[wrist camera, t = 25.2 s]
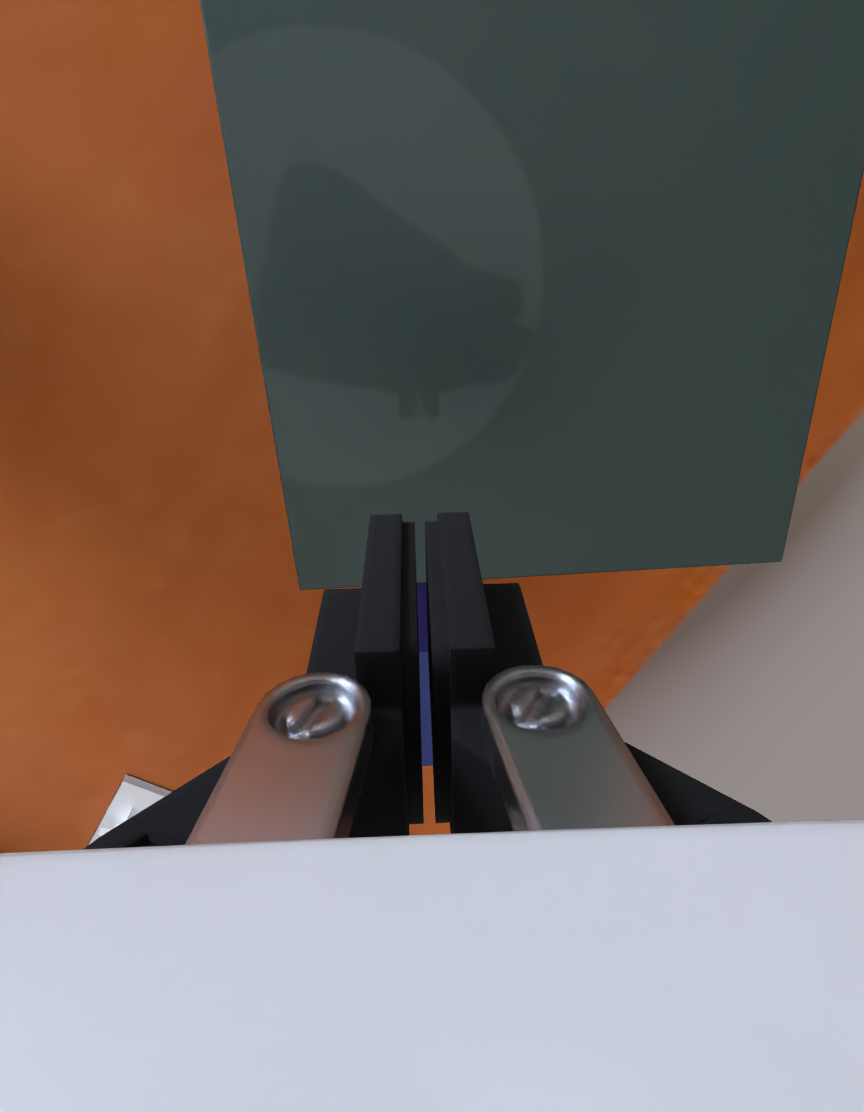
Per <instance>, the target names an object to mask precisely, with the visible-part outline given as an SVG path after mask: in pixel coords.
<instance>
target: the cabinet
mask: <svg viewBox="0 0 864 1112" xmlns="http://www.w3.org/2000/svg"><path fill="white" fill-rule="evenodd" d="M200 6H201V12H202V18H203V23H204V29H205V35H206V41H207V47H208V53H209V59H210V65H211V70H212V76H213V82H214V88H215V94H216V100H217V106H218V112H219V118H220V123H221V129H222V135H223V141H224V147H225V153H226V159H227V165H228V171H229V176H230V182H231V188H232V194H233V200H234V206H235V212H236V218H237V223H238V229H239V235H240V241H241V247H242V253H243V259H244V265H245V271H246V276H247V282H248V288H249V294H250V300H251V306H252V312H253V318H254V324H255V329H256V335H257V341H258V347H259V353H260V359H261V365H262V371H263V377H264V382H265V388H266V394H267V400H268V406H269V412H270V418H271V424H272V429H273V435H274V441H275V447H276V453H277V459H278V465H279V471H280V477H281V482H282V488H283V494H284V500H285V506H286V512H287V518H288V524H289V530H290V535H291V541H292V547H293V553H294V559H295V565H296V571H297V577H298V582H299V588H300V590H309V589H326V588H343V587H360V586H362V581H363V572H364V563H365V555H366V546H367V538H368V529H369V520H370V515H380V514H402V521H403V522H415V547H416V577H417V583H426V551H425V521H437V513H447V512H469V516H470V521H471V526H472V531H473V536H474V541H475V547H476V552H477V557H478V562H479V567H480V572H481V577H482V579H495V578H512V577H529V576H546V575H563V574H580V573H597V572H614V571H631V570H648V569H665V568H682V567H699V566H716V565H732V564H749V563H766V562H780V561H782V557H783V552H784V548H785V542H786V538H787V533H788V528H789V524H790V519H791V514H792V509H793V504H794V499H795V495H796V490H797V486H798V481H799V476H800V471H801V466H802V462H803V457H804V452H805V447H806V443H807V438H808V433H809V428H810V423H811V419H812V414H813V409H814V404H815V400H816V395H817V390H818V385H819V381H820V376H821V371H822V366H823V361H824V357H825V352H826V347H827V342H828V338H829V333H830V328H831V323H832V319H833V314H834V309H835V304H836V299H837V295H838V290H839V285H840V280H841V276H842V271H843V266H844V261H845V257H846V252H847V247H848V242H849V237H850V233H851V228H852V223H853V218H854V214H855V209H856V204H857V199H858V195H859V190H860V185H861V180H862V175H863V171H864V0H200Z"/></svg>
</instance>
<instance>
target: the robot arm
mask: <svg viewBox="0 0 864 1112" xmlns="http://www.w3.org/2000/svg"><path fill="white" fill-rule="evenodd" d="M425 551H426V591H427V630H428V665H429V688H430V710H431V732H432V754H433V775H434V797H435V819H436V823H447V822H450V830H451V834H433V835H409V824H421V823H424V820H423V782H422V744H421V706H420V669H419V637H418V607H417V577H416V547H415V522H403V521H402V514H380V515H370V520H369V529H368V538H367V546H366V555H365V563H364V572H363V581H362V588H353V589H326V590H325V591H324V594H323V598H322V602H321V607H320V612H319V617H318V621H317V626H316V631H315V636H314V640H313V645H312V650H311V655H310V659H309V664H308V669H307V673H306V674H304V675H300V676H295V677H293V678H290V679H288V680H286V681H284V682H281V683H279V684H278V685H276V686H275V687H274V688H272V689H271V690H270V691H268V692H267V693H266V694H265V695H264V697H263V698H262V699H261V701H260V702H259V703H258V705H257V707H256V709H255V711H254V713H253V714H252V716H251V718H250V720H249V722H248V724H247V726H246V728H245V730H244V732H243V734H242V736H241V738H240V740H239V741H238V743H237V745H236V747H235V749H234V751H233V753H232V755H231V756H230V757H228V758H226V759H225V760H223V761H221V762H220V763H218V764H217V765H215V766H213V767H212V768H210V769H209V770H207V771H205V772H204V773H202V774H200V775H199V776H197V777H196V778H194V779H192V780H191V781H189V782H188V783H186V784H184V785H183V786H181V787H179V788H178V789H176V790H175V791H173V792H171V793H170V794H168V795H167V796H165V797H163V798H162V799H160V800H158V801H157V802H155V803H154V804H152V805H150V806H149V807H147V808H146V809H144V810H142V811H141V812H139V813H137V814H136V815H134V816H133V817H131V818H129V819H128V820H126V821H125V822H123V823H121V824H120V825H118V826H117V827H115V828H113V829H112V830H110V831H108V832H107V833H105V834H104V835H102V836H100V837H99V838H97V839H96V840H95V841H93V842H92V843H91V844H90V845H88V846H87V847H86V848H84V849H83V850H63V851H41V852H19V853H0V1112H864V819H856V820H855V819H854V820H825V821H794V822H772V821H770V820H768V819H767V818H766V817H764V816H763V815H761V814H760V813H758V812H756V811H755V810H753V809H751V808H749V807H747V806H745V805H743V804H741V803H739V802H737V801H736V800H734V799H732V798H730V797H728V796H726V795H724V794H722V793H720V792H718V791H716V790H715V789H713V788H711V787H709V786H707V785H705V784H703V783H701V782H700V781H698V780H696V779H694V778H692V777H690V776H688V775H686V774H684V773H682V772H681V771H679V770H676V769H675V768H673V767H671V766H669V765H667V764H665V763H663V762H662V761H660V760H658V759H656V758H654V757H652V756H650V755H648V754H646V753H644V752H643V751H641V750H639V749H637V748H635V747H633V746H631V745H629V744H627V743H625V742H624V741H623V739H622V738H621V736H620V734H619V733H618V731H617V730H616V728H615V726H614V725H613V723H612V721H611V720H610V718H609V717H608V715H607V713H606V712H605V710H604V708H603V707H602V705H601V704H600V702H599V700H598V699H597V697H596V695H595V694H594V692H593V691H592V690H591V689H590V688H589V686H588V685H587V684H586V683H585V682H584V681H582V680H581V679H579V678H578V677H576V676H575V675H573V674H572V673H569V672H566V671H564V670H561V669H558V668H555V667H549V666H543V664H542V661H541V657H540V654H539V650H538V647H537V644H536V640H535V637H534V633H533V630H532V626H531V623H530V619H529V616H528V613H527V609H526V606H525V602H524V599H523V595H522V592H521V588H520V586H519V584H518V583H508V584H483V582H482V577H481V572H480V567H479V562H478V557H477V552H476V547H475V541H474V536H473V531H472V526H471V521H470V516H469V512H447V513H437V521H425Z"/></svg>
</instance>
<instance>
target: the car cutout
mask: <svg viewBox="0 0 864 1112" xmlns="http://www.w3.org/2000/svg"><path fill="white" fill-rule="evenodd" d="M170 793H171V791H169V790H166V789H163V788H161V787H158V786H155V785H153V784H150V783H147V782H145V781H142V780H139V779H137V778H134V777H131V776H129V775H126V776H125V778H124V779H123V781H122V783H121V785H120V787H119V789H118V791H117V793H116V794H115V796H114V798H113V800H112V802H111V804H110V806H109V807H108V809H107V811H106V813H105V815H104V817H103V819H102V821H101V822H100V824H99V826H98V828H97V830H96V832H95V834H94V835H93V837H92V839H91V841H90V843H89V845H90V844H91V843H92V842H93V841H95V840H96V839H97V838H99V837H100V836H102V835H104V834H105V833H107V832H108V831H110V830H112V829H113V828H115V827H117V826H118V825H120V824H121V823H123V822H125V821H126V820H128V819H129V818H131V817H133V816H134V815H136V814H137V813H139V812H141V811H142V810H144V809H146V808H147V807H149V806H150V805H152V804H154V803H155V802H157V801H158V800H160V799H162V798H163V797H165V796H167V795H168V794H170Z"/></svg>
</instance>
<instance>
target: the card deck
mask: <svg viewBox="0 0 864 1112" xmlns="http://www.w3.org/2000/svg"><path fill="white" fill-rule="evenodd" d="M417 607H418V637H419V669H420V706H421V744H422V766H428V765H433V754H432V732H431V710H430V688H429V665H428V630H427V591H426V583H420V584H417Z"/></svg>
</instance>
